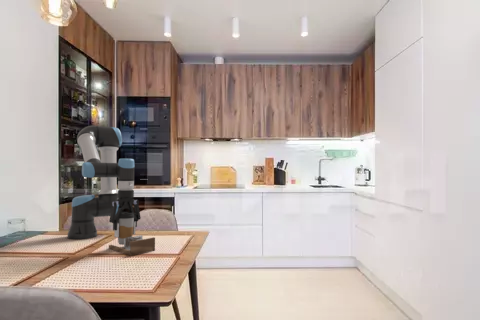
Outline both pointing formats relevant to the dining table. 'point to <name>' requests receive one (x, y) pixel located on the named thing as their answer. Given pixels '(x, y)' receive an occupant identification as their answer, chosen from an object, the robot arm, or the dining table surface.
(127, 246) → the pusher
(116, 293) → the dining table surface
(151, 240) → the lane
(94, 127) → the robot arm
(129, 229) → the coffee cup
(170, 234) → the dining table surface
